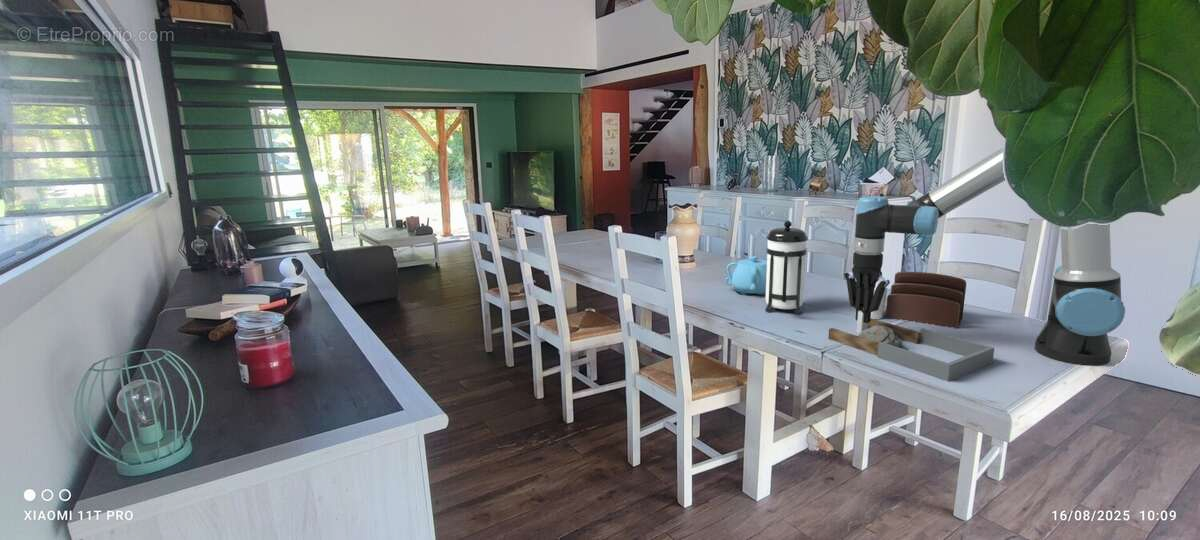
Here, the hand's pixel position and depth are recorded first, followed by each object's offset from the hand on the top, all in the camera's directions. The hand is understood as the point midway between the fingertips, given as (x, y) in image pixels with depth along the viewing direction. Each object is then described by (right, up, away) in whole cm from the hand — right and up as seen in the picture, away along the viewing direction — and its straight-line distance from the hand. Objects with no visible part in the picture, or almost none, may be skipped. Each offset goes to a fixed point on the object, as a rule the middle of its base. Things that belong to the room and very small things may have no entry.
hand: (861, 332), depth 162 cm
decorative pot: (-18, +10, +50) cm, 54 cm away
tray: (+10, -5, -17) cm, 21 cm away
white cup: (+11, +3, +18) cm, 21 cm away
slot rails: (+2, -2, -3) cm, 4 cm away
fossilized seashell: (+2, -3, -7) cm, 7 cm away
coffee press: (-13, +4, +27) cm, 30 cm away
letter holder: (+26, +2, +14) cm, 30 cm away
